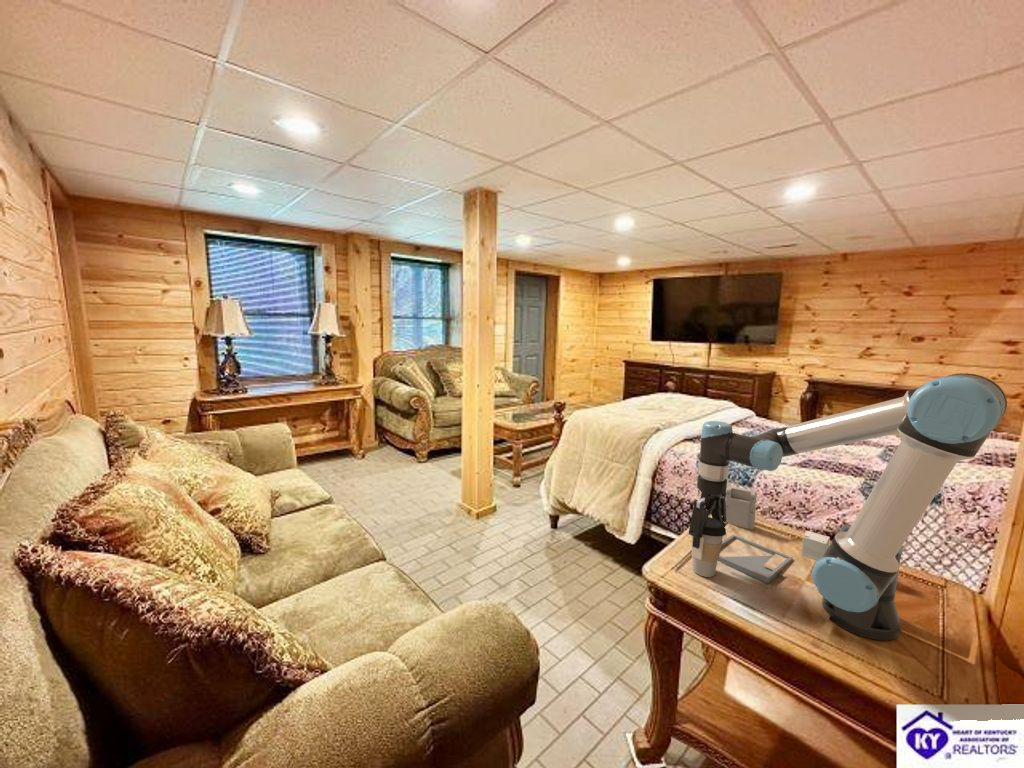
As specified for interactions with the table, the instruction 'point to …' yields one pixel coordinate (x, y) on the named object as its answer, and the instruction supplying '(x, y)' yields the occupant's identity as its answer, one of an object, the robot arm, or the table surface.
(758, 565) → the grey tray
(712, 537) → the coffee cup
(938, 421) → the robot arm
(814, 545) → the skincare box
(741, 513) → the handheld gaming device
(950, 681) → the table surface
